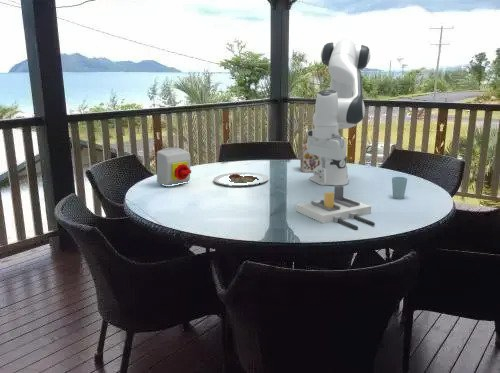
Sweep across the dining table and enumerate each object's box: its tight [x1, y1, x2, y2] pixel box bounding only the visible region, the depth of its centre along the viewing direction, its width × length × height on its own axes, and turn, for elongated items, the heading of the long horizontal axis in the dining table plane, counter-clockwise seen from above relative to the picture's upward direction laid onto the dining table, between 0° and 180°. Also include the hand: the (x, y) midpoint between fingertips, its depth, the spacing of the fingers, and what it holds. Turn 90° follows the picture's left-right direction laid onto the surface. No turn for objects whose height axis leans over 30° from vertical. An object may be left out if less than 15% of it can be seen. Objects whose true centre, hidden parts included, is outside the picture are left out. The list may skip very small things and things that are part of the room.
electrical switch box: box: [156, 147, 192, 185], centre depth 221 cm, size 14×15×20 cm
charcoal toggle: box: [333, 185, 344, 201], centre depth 176 cm, size 2×3×6 cm, turn 118°
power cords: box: [332, 212, 376, 230], centre depth 158 cm, size 12×10×2 cm
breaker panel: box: [295, 196, 372, 224], centre depth 171 cm, size 18×24×4 cm
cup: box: [391, 176, 408, 200], centre depth 190 cm, size 7×7×9 cm
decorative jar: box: [300, 142, 321, 173], centre depth 250 cm, size 12×12×18 cm
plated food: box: [213, 172, 270, 187], centre depth 228 cm, size 30×30×3 cm
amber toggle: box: [323, 191, 334, 208], centre depth 167 cm, size 2×3×6 cm, turn 118°
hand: (325, 168), depth 166 cm, fingers closed
